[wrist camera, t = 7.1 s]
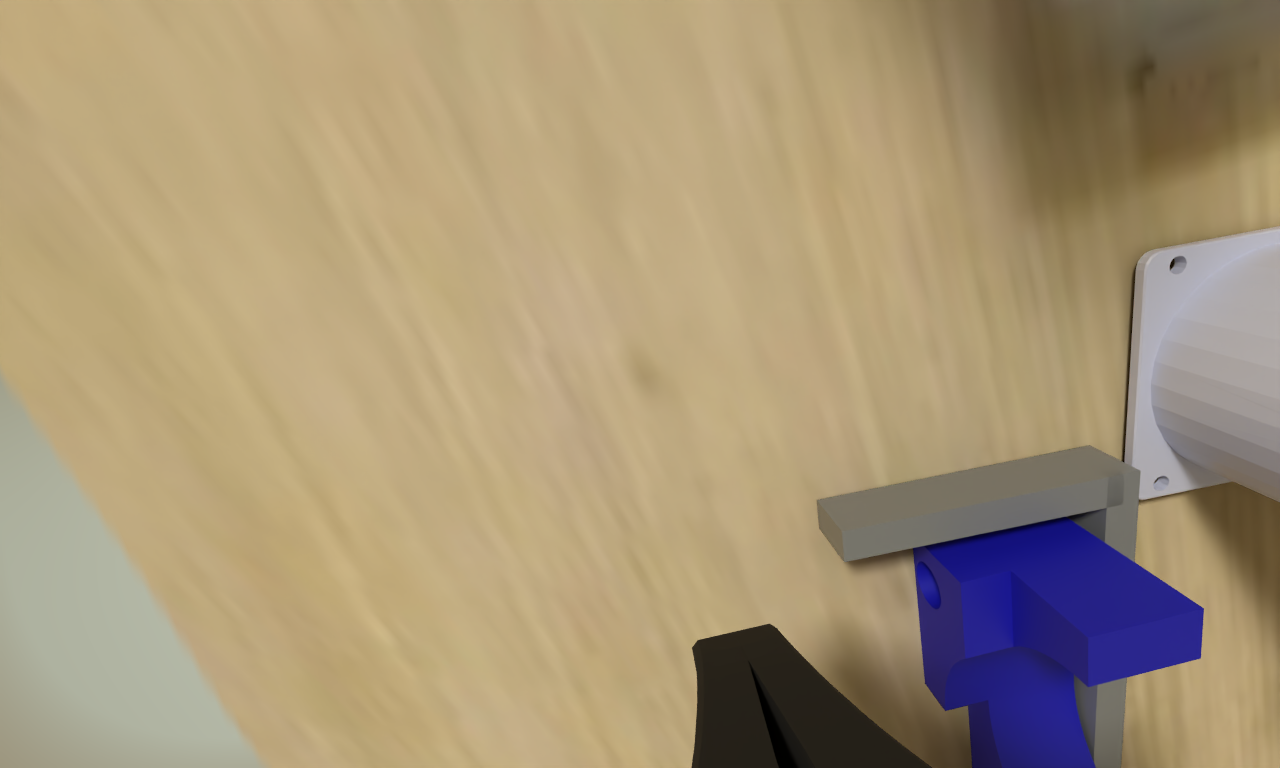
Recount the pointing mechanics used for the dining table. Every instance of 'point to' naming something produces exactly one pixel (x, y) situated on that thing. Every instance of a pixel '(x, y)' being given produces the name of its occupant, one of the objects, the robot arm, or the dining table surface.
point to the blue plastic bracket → (1040, 634)
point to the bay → (996, 501)
